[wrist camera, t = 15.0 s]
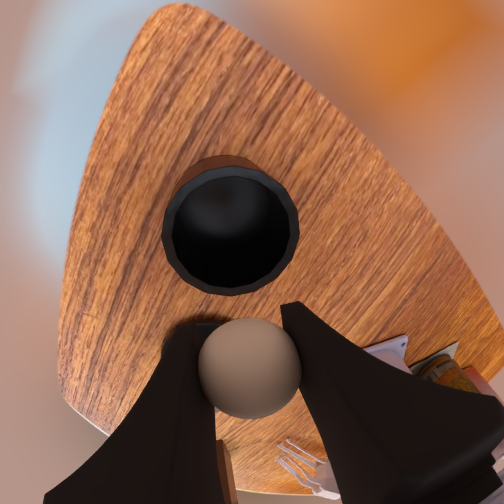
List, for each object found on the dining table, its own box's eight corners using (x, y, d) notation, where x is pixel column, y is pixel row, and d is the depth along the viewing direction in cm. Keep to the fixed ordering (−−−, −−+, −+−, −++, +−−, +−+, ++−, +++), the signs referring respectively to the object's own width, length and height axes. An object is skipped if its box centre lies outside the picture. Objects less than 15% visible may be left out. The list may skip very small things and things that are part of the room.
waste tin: (281, 244, 20) (304, 281, 16) (184, 264, 20) (181, 306, 15) (268, 146, 17) (291, 156, 13) (161, 167, 17) (147, 183, 13)
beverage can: (476, 371, 34) (528, 435, 20) (448, 398, 35) (495, 466, 22) (468, 360, 32) (528, 432, 18) (437, 390, 33) (491, 467, 19)
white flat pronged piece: (282, 410, 37) (364, 466, 36) (270, 471, 26) (369, 521, 25) (292, 403, 36) (373, 460, 36) (283, 464, 25) (380, 515, 25)
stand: (230, 456, 30) (241, 524, 22) (195, 460, 30) (201, 528, 21) (222, 439, 29) (233, 516, 20) (183, 444, 28) (188, 520, 20)
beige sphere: (291, 357, 10) (315, 423, 8) (208, 375, 10) (214, 444, 8) (283, 288, 9) (314, 355, 7) (185, 308, 9) (183, 383, 6)
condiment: (446, 377, 32) (492, 438, 21) (394, 405, 32) (436, 477, 21) (457, 340, 29) (516, 405, 18) (400, 369, 29) (456, 451, 18)
